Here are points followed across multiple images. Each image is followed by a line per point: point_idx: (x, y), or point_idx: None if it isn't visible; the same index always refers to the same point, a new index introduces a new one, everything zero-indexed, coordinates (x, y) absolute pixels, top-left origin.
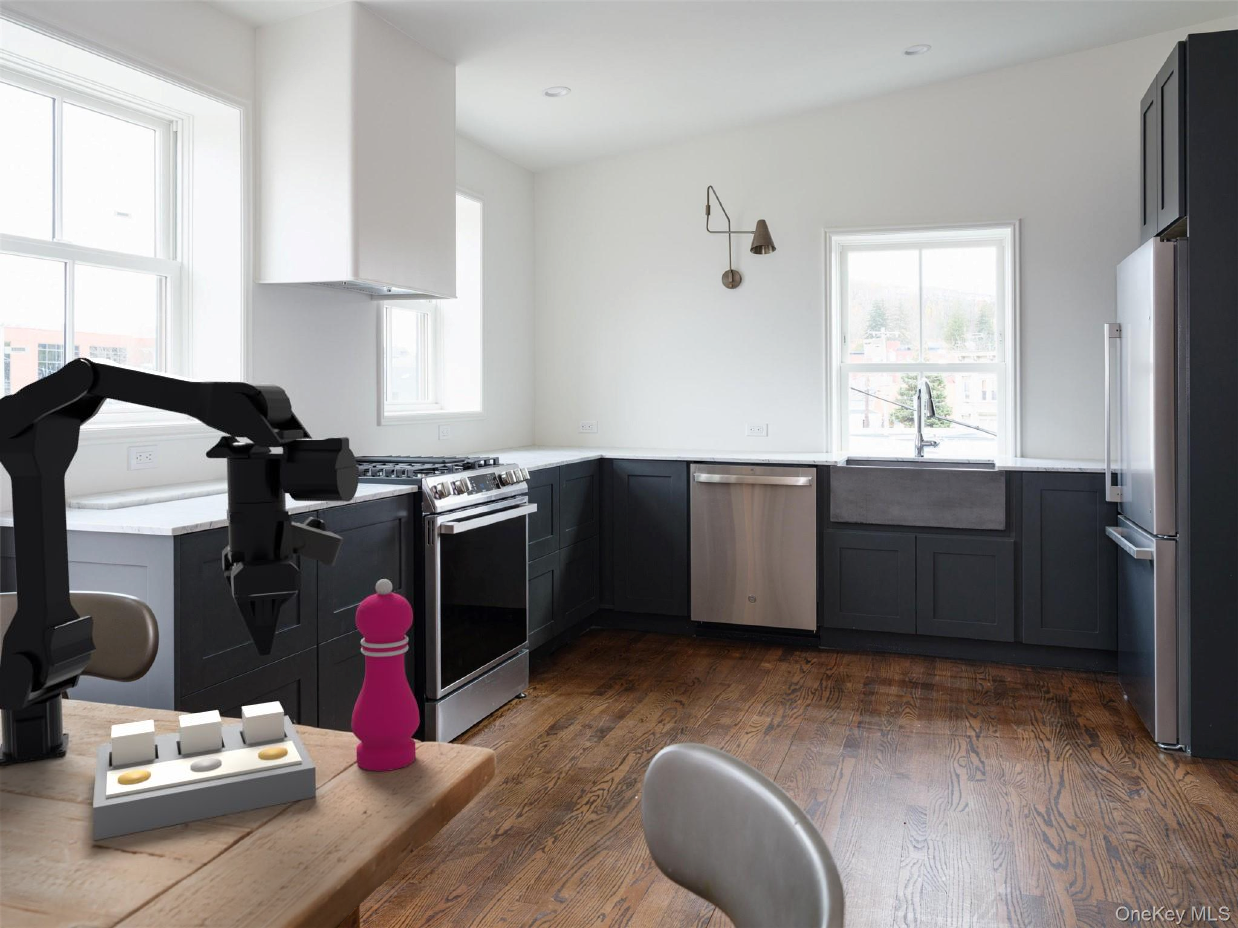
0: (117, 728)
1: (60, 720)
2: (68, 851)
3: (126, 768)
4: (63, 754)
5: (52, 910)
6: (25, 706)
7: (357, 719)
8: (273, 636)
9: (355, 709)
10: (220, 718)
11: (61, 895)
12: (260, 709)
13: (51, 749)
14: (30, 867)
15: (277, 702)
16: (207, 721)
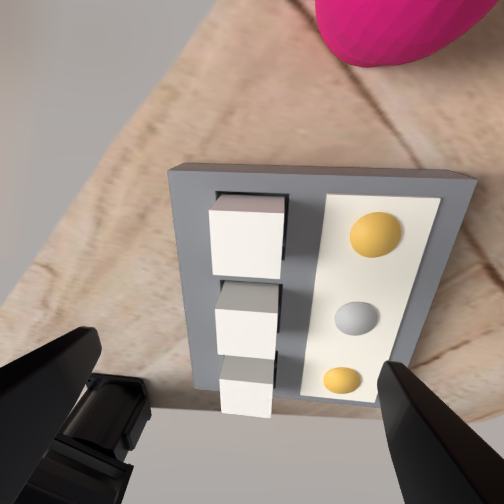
0: (237, 410)
1: (105, 408)
2: None
3: (303, 381)
4: (142, 381)
5: (498, 407)
6: (129, 466)
7: (434, 48)
8: (473, 433)
9: (417, 43)
10: (264, 312)
11: (476, 402)
12: (246, 250)
13: (133, 391)
14: None
15: (216, 213)
16: (269, 329)
